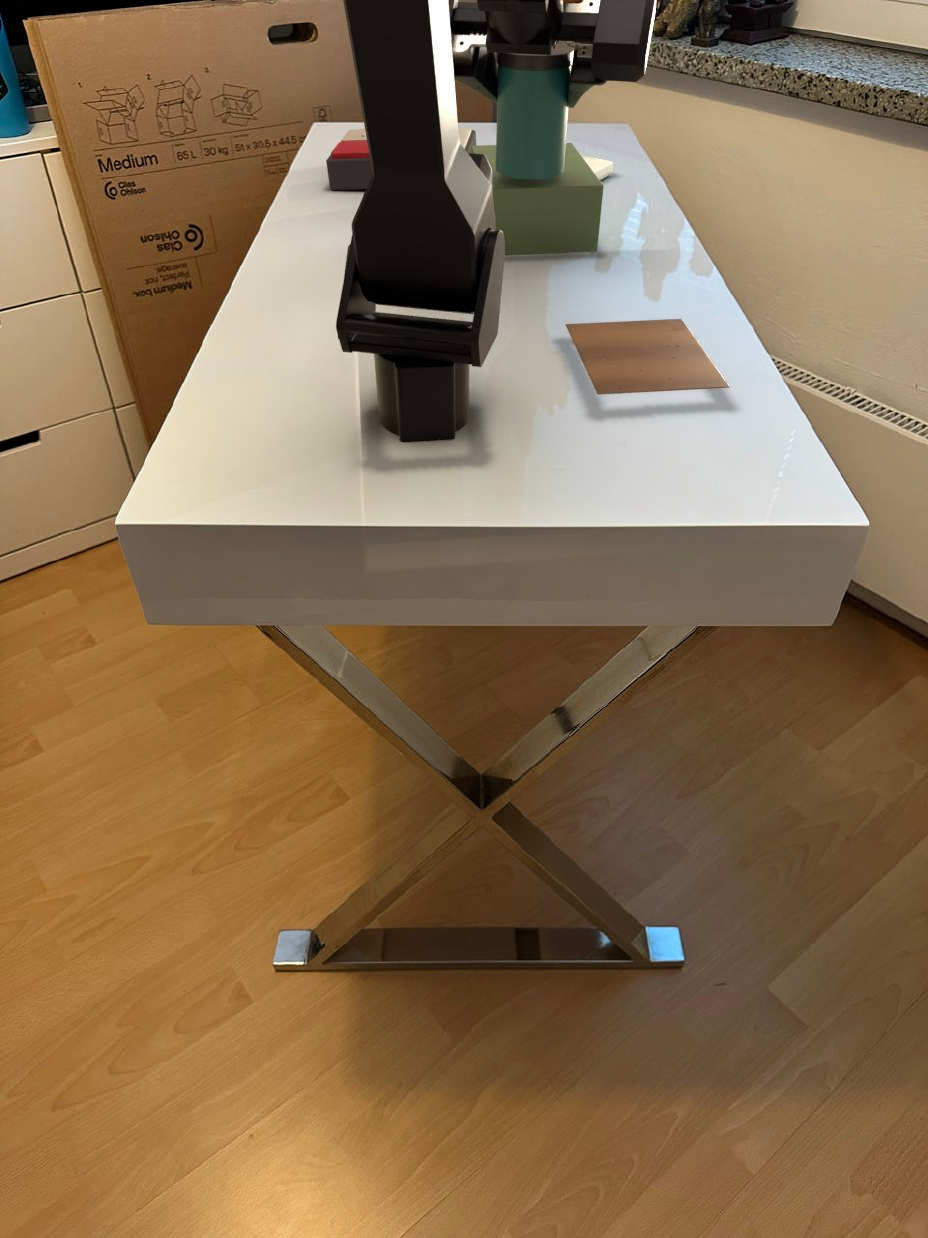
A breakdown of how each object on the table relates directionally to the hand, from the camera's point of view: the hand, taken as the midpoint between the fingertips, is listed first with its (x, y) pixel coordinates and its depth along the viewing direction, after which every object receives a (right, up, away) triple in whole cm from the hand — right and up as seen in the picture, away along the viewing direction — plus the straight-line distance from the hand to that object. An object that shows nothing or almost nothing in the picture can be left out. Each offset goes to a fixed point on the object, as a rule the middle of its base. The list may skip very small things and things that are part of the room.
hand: (536, 100), depth 74 cm
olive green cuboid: (0, -7, +10) cm, 12 cm away
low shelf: (+6, -27, -12) cm, 30 cm away
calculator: (-13, +5, +23) cm, 27 cm away
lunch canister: (0, -5, +2) cm, 5 cm away
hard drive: (+4, +4, +22) cm, 22 cm away
